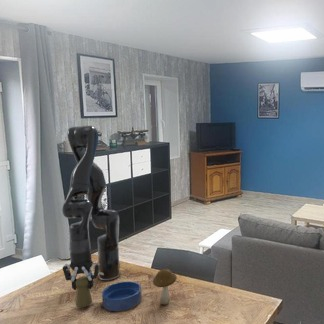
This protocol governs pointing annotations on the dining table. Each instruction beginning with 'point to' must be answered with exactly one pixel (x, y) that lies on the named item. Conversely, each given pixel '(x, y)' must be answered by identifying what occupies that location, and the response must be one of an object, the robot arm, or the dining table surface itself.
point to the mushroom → (164, 283)
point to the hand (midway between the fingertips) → (83, 288)
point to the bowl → (121, 296)
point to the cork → (83, 292)
